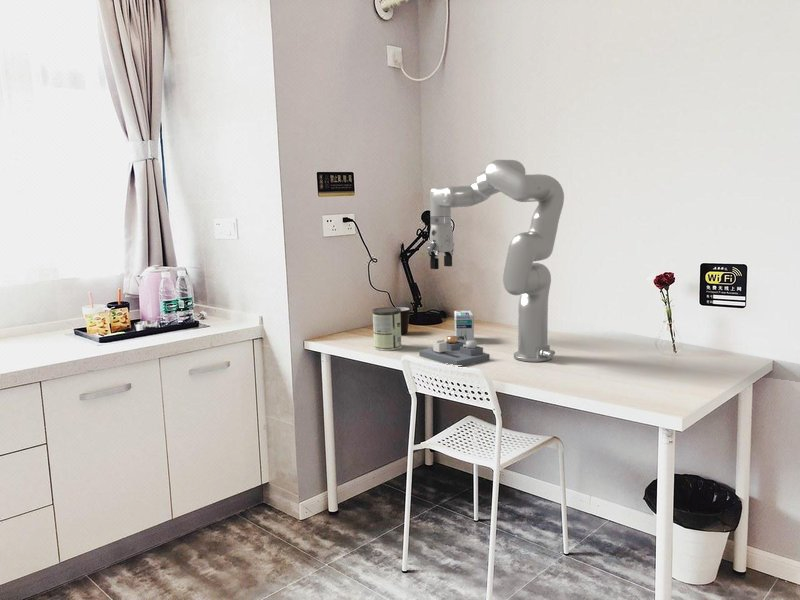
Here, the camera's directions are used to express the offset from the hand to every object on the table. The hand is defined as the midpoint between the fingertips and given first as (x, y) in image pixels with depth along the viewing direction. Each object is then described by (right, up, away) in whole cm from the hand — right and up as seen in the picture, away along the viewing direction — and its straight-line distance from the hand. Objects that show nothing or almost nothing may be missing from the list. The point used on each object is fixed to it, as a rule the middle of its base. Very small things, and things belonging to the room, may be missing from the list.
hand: (441, 267), depth 249 cm
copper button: (+3, -27, -17) cm, 32 cm away
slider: (-2, -29, -23) cm, 37 cm away
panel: (+3, -32, -23) cm, 39 cm away
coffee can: (-20, -30, -5) cm, 36 cm away
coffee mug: (-16, -26, +17) cm, 35 cm away
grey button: (+8, -28, -25) cm, 39 cm away
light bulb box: (+9, -28, +3) cm, 29 cm away
